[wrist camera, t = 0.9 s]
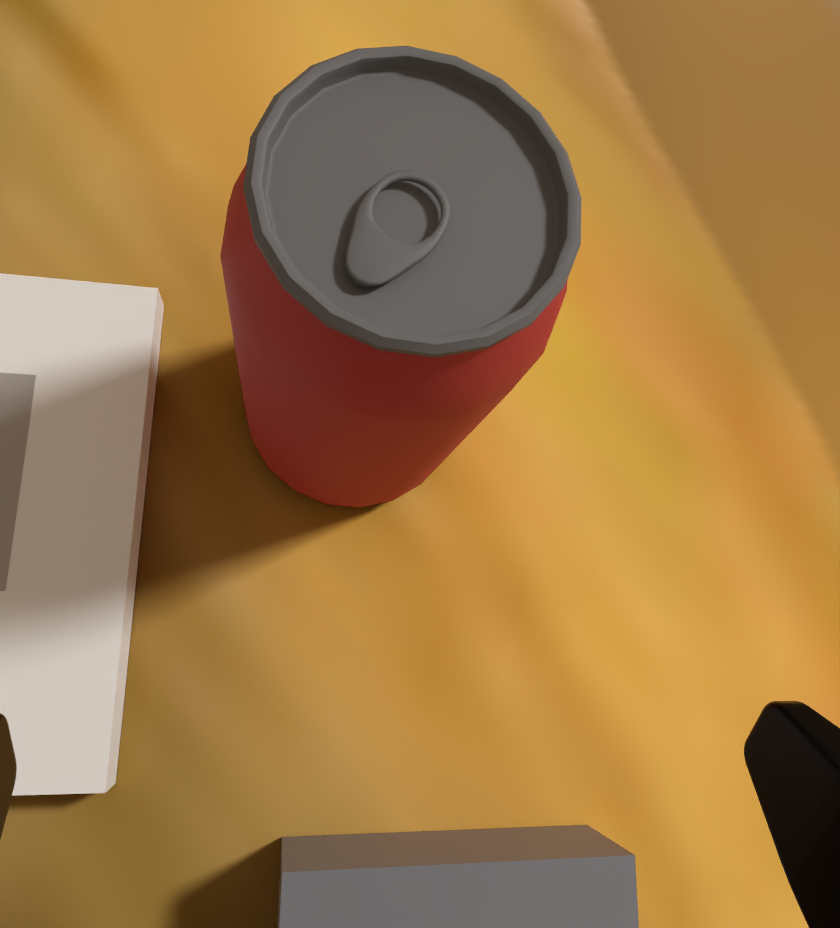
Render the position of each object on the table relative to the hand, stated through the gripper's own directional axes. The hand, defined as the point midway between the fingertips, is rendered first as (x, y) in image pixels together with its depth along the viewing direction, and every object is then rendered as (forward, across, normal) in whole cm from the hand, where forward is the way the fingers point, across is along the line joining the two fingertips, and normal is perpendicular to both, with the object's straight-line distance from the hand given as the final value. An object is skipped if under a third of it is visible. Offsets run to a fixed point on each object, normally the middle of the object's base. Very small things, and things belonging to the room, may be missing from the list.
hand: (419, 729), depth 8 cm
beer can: (+15, 0, +3) cm, 16 cm away
